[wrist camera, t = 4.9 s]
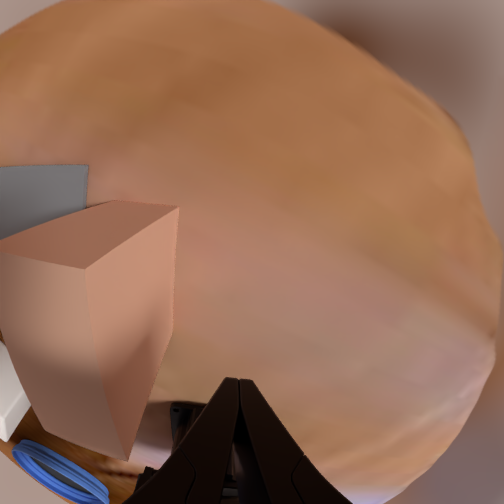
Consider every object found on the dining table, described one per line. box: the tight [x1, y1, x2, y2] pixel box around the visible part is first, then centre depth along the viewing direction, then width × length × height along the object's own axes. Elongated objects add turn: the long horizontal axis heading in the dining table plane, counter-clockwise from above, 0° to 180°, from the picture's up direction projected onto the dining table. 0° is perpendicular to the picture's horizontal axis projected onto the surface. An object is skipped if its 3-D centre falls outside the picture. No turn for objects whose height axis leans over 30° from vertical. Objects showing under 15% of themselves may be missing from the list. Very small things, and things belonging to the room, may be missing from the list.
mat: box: [0, 165, 88, 240], centre depth 15 cm, size 12×11×1 cm
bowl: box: [12, 440, 109, 504], centre depth 24 cm, size 18×18×4 cm
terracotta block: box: [0, 200, 179, 462], centre depth 11 cm, size 8×4×10 cm, turn 172°
